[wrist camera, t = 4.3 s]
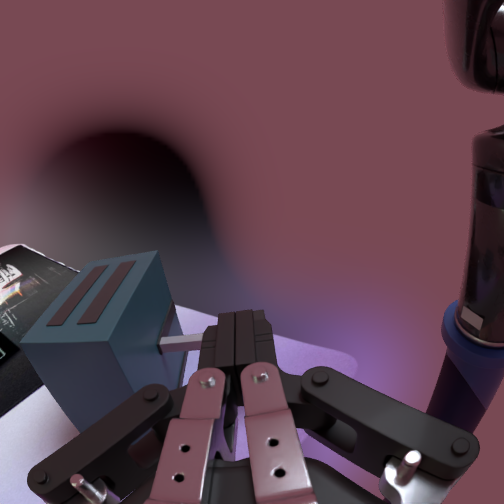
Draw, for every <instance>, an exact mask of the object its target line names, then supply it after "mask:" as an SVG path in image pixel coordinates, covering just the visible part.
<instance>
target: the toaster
mask: <svg viewBox="0 0 504 504" xmlns="http://www.w3.org/2000/svg"><path fill="white" fill-rule="evenodd" d="M181 335H183V332H182V329H181V326H180V323H179V320H178V317H177V314H176V308H175V305H174V302H173V300H172V298H171V294H170V291H169V288H168V284H167V281H166V277H165V274H164V271H163V267H162V263H161V260H160V256H159V252H158V251H151V252H146V253H139V254H133V255H127V256H121V257H115V258H109V259H104V260H98V261H92V262H89V263H88V264H87V265H86V266H85V267H84V268H83V269H82V270H81V271H80V272H79V273H78V275H77V276H76V277H75V278H74V279H73V280H72V281H71V282H70V283H69V284H68V285H67V287H66V288H65V289H64V290H63V291H62V292H61V293H60V294H59V296H58V297H57V298H56V299H55V300H54V301H53V302H52V304H51V305H50V306H49V307H48V308H47V309H46V311H45V312H44V313H43V314H42V315H41V317H40V318H39V319H38V320H37V321H36V323H35V324H34V325H33V326H32V328H31V329H30V330H29V331H28V333H27V334H26V335H25V336H24V338H23V339H22V340H21V341H20V345H21V347H22V349H23V350H24V352H25V354H26V355H27V357H28V359H29V361H30V362H31V364H32V365H33V367H34V369H35V370H36V372H37V374H38V375H39V377H40V378H41V380H42V381H43V383H44V384H45V386H46V387H47V389H48V390H49V392H50V393H51V395H52V396H53V397H54V399H55V400H56V402H57V403H58V404H59V406H60V407H61V409H62V410H63V411H64V413H65V414H66V415H67V417H68V418H69V419H70V421H71V422H72V423H73V424H74V426H75V427H76V428H77V429H78V431H79V432H80V433H82V432H83V431H85V430H86V429H87V428H89V427H90V426H92V425H93V424H94V423H96V422H97V421H98V420H100V419H101V418H102V417H104V416H105V415H106V414H108V413H109V412H110V411H112V410H113V409H115V408H116V407H117V406H119V405H120V404H121V403H122V402H124V401H125V400H126V399H128V398H129V397H130V396H132V395H133V394H134V393H136V392H137V391H138V390H140V389H141V388H142V387H144V386H146V385H149V384H154V383H156V384H162V385H164V386H166V387H167V388H168V390H169V391H170V390H174V389H177V388H180V387H182V383H183V377H184V371H185V366H186V361H187V355H188V351H181V352H169V353H163V352H162V350H161V347H160V345H159V344H160V341H161V338H162V337H171V336H181ZM150 431H151V428H150V429H149V430H148V431H146V432H145V433H144V434H143V435H142V436H140V437H139V438H138V439H137V440H135V441H134V442H133V443H132V444H131V445H130V446H129V448H130V447H132V446H133V445H134V444H135V443H137V442H138V441H139V440H140V439H141V438H143V437H144V436H145V435H146V434H148V433H149V432H150ZM129 448H128V449H129Z"/></svg>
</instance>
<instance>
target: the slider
mask: <svg viewBox="0 0 504 504" xmlns="http://www.w3.org/2000/svg"><path fill="white" fill-rule="evenodd" d="M253 316H254V320H260V319H265V315H264V310H257V311H253ZM202 336H203V333H200V334H191V335H181V336H171V337H162V338H161V341H160V344H159V345H160V347H161V350H162V352H163V353H169V352H181V351H192V350H200V349H201V343H202Z"/></svg>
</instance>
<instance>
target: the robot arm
mask: <svg viewBox="0 0 504 504" xmlns="http://www.w3.org/2000/svg"><path fill="white" fill-rule="evenodd" d="M503 4H504V0H443V24H444V39H445V47H446V53H447V57H448V61H449V64H450V66H451V69H452V71H453V73H454V75H455V77H456V78H457V80H458V81H459V82H460V83H461V84H462V85H463V86H464V87H466V88H468V89H470V90H473V91H477V92H481V93H486V94H495V95H503V96H504V5H503ZM471 150H472V183H471V207H470V222H469V233H468V242H467V250H466V258H465V265H464V271H463V277H462V284H461V288H460V294H459V299H458V304H457V307H456V309H455V314H454V324H455V326H456V329H457V330H458V332H459V333H460V334H461V335H462V336H463V337H464V338H465V339H467V340H468V341H470V342H471V343H473V344H475V345H477V346H480V347H483V348H487V349H494V350H500V349H504V125H502V126H499V127H496V128H493V129H490V130H486V131H483V132H479V133H477V134H476V135H474V137H473V139H472V147H471ZM237 406H244V408H245V417H244V418H245V427H246V434H247V442H248V449H249V456H250V457H249V458H246V459H242V460H239V461H235V452H236V441H237V430H238V418H237ZM150 428H151V431H150V432H149V433H148V434H146V435H145V436H144V437H143V438H141V439H140V440H139V441H138V442H137V443H135V444H134V445H133V446H132V447H130V448H129V446H130V445H131V444H132V443H133V442H134V441H135V440H137V439H138V438H139V437H140V436H142V435H143V434H144V433H145V432H146V431H148V430H149V429H150ZM296 428H302V429H304V431H305V432H306V433H307V434H308V435H309V436H311V437H313V438H314V439H316V440H317V441H319V442H320V443H322V444H323V445H325V446H327V447H328V448H330V449H331V450H333V451H334V452H336V453H338V454H339V455H341V456H342V457H344V458H346V459H347V460H349V461H351V462H352V463H354V464H356V465H357V466H359V467H361V468H363V469H364V470H366V471H368V472H370V473H371V474H373V475H375V476H377V477H379V478H380V481H379V489H380V492H381V493H382V495H383V496H384V497H386V498H387V499H388V500H389V501H390V502H391V504H442V502H443V501H444V499H445V498H446V496H447V494H448V493H449V491H450V490H451V489H452V487H453V486H454V485H455V484H456V483H457V482H458V480H459V479H460V478H461V477H462V476H463V474H464V473H465V472H466V471H467V470H468V468H469V467H470V466H471V465H472V463H473V462H474V461H475V459H476V458H477V456H478V454H479V451H480V445H479V441H478V439H477V438H476V437H475V436H474V435H473V434H472V433H470V432H468V431H466V430H463V429H461V428H459V427H456V426H454V425H451V424H449V423H447V422H444V421H442V420H440V419H437V418H435V417H433V416H430V415H428V414H426V413H423V412H421V411H419V410H417V409H415V408H412V407H410V406H408V405H406V404H404V403H402V402H399V401H397V400H395V399H393V398H391V397H389V396H387V395H385V394H382V393H380V392H378V391H376V390H374V389H372V388H370V387H368V386H366V385H364V384H362V383H360V382H358V381H356V380H354V379H352V378H350V377H348V376H346V375H344V374H342V373H340V372H338V371H336V370H334V369H332V368H329V367H324V366H319V367H314V368H311V369H309V370H307V371H306V372H305V373H304V374H303V375H302V376H299V375H291V374H288V373H285V372H283V371H282V370H281V369H280V368H279V367H278V364H277V359H276V353H275V346H274V340H273V333H272V327H271V324H270V323H269V322H268V321H267V320H266V319H260V320H254V316H253V311H252V309H251V310H244V311H237V312H236V313H235V312H229V313H221V314H219V315H218V324H217V325H213V326H208V327H207V329H206V330H205V331H204V333H203V336H202V343H201V349H200V356H199V363H198V370H197V371H196V372H195V373H194V374H193V375H192V376H191V377H190V379H189V382H188V384H187V385H185V386H183V387H180V388H177V389H174V390H170V391H169V390H168V388H167V387H166V386H164V385H162V384H156V383H154V384H149V385H146V386H144V387H142V388H141V389H140V390H138V391H137V392H136V393H134V394H133V395H132V396H130V397H129V398H128V399H126V400H125V401H124V402H122V403H121V404H120V405H119V406H117V407H116V408H115V409H113V410H112V411H110V412H109V413H108V414H106V415H105V416H104V417H102V418H101V419H100V420H98V421H97V422H96V423H94V424H93V425H92V426H90V427H89V428H87V429H86V430H85V431H83V432H82V433H81V434H79V435H78V436H76V437H75V438H74V439H72V440H71V441H69V442H68V443H67V444H65V445H64V446H62V447H61V448H60V449H58V450H57V451H55V452H54V453H53V454H51V455H50V456H48V457H47V458H45V459H44V460H43V461H41V462H40V463H38V464H37V465H35V466H34V467H33V468H32V469H31V470H30V471H29V473H28V476H27V484H28V486H29V488H30V489H31V491H33V492H34V493H35V494H36V495H38V496H39V497H40V498H41V499H43V501H44V502H45V503H47V504H388V503H386V502H385V501H383V500H381V499H380V498H378V497H376V496H375V495H373V494H371V493H370V492H368V491H367V490H365V489H363V488H362V487H360V486H359V485H357V484H356V483H354V482H353V481H351V480H350V479H348V478H347V477H345V476H344V475H342V474H341V473H339V472H338V471H336V470H335V469H334V468H332V467H331V466H329V465H327V464H325V463H323V462H321V461H318V460H316V459H312V458H307V457H304V455H303V451H302V448H301V444H300V441H299V437H298V434H297V430H296ZM128 448H129V449H128ZM132 491H133V492H132ZM131 492H132V493H131ZM130 493H131V494H130ZM127 495H128V496H127ZM126 496H127V497H126ZM125 497H126V498H125ZM124 498H125V499H124ZM122 499H124V500H122ZM121 500H122V501H121ZM120 501H121V502H120Z"/></svg>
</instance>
